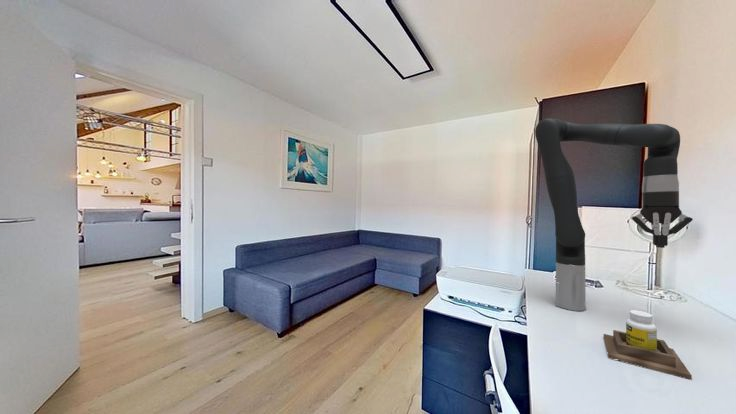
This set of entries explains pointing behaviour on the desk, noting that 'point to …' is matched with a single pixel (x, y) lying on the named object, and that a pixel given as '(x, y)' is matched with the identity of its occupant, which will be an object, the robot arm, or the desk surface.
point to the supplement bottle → (641, 331)
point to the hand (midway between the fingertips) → (660, 247)
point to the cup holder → (645, 355)
